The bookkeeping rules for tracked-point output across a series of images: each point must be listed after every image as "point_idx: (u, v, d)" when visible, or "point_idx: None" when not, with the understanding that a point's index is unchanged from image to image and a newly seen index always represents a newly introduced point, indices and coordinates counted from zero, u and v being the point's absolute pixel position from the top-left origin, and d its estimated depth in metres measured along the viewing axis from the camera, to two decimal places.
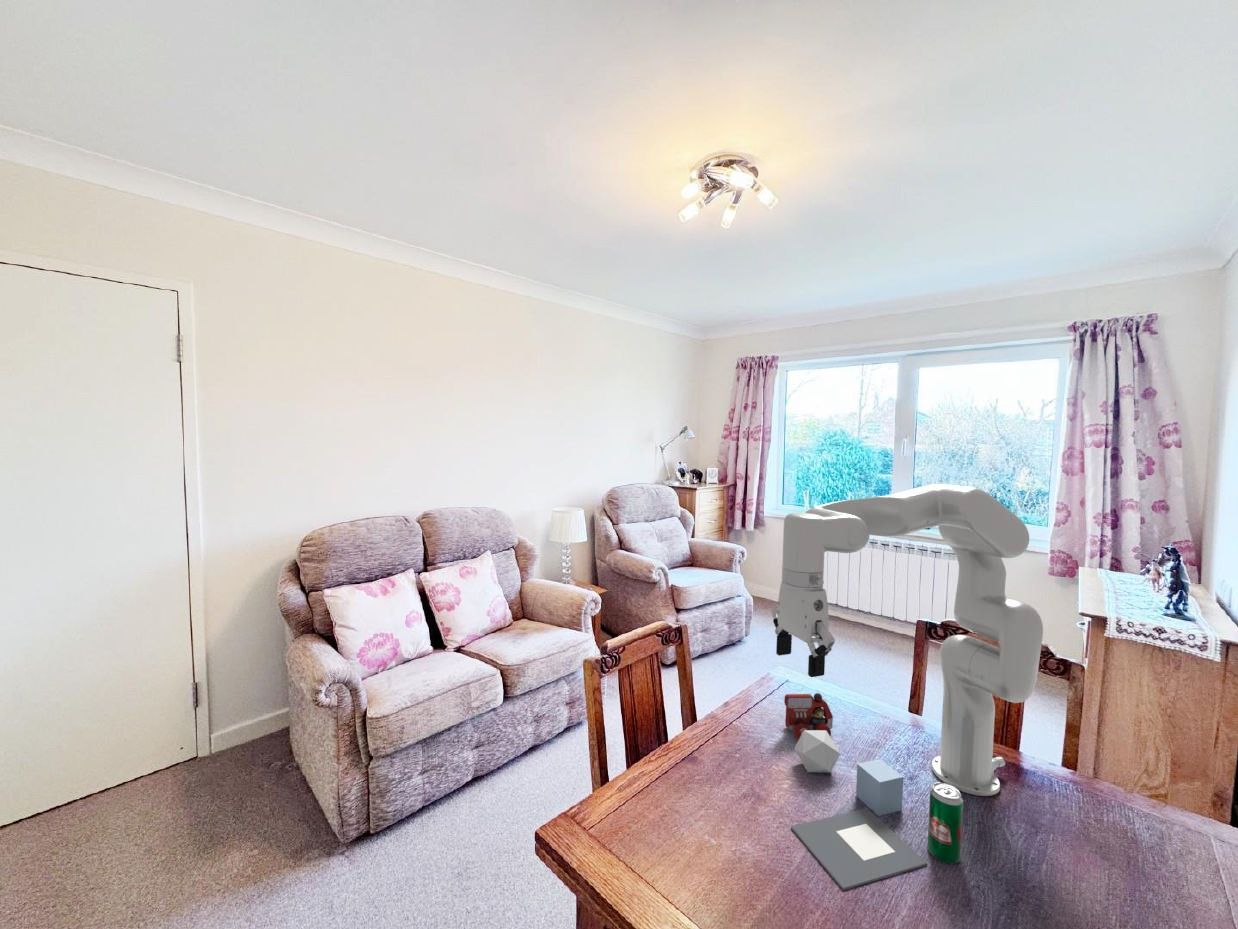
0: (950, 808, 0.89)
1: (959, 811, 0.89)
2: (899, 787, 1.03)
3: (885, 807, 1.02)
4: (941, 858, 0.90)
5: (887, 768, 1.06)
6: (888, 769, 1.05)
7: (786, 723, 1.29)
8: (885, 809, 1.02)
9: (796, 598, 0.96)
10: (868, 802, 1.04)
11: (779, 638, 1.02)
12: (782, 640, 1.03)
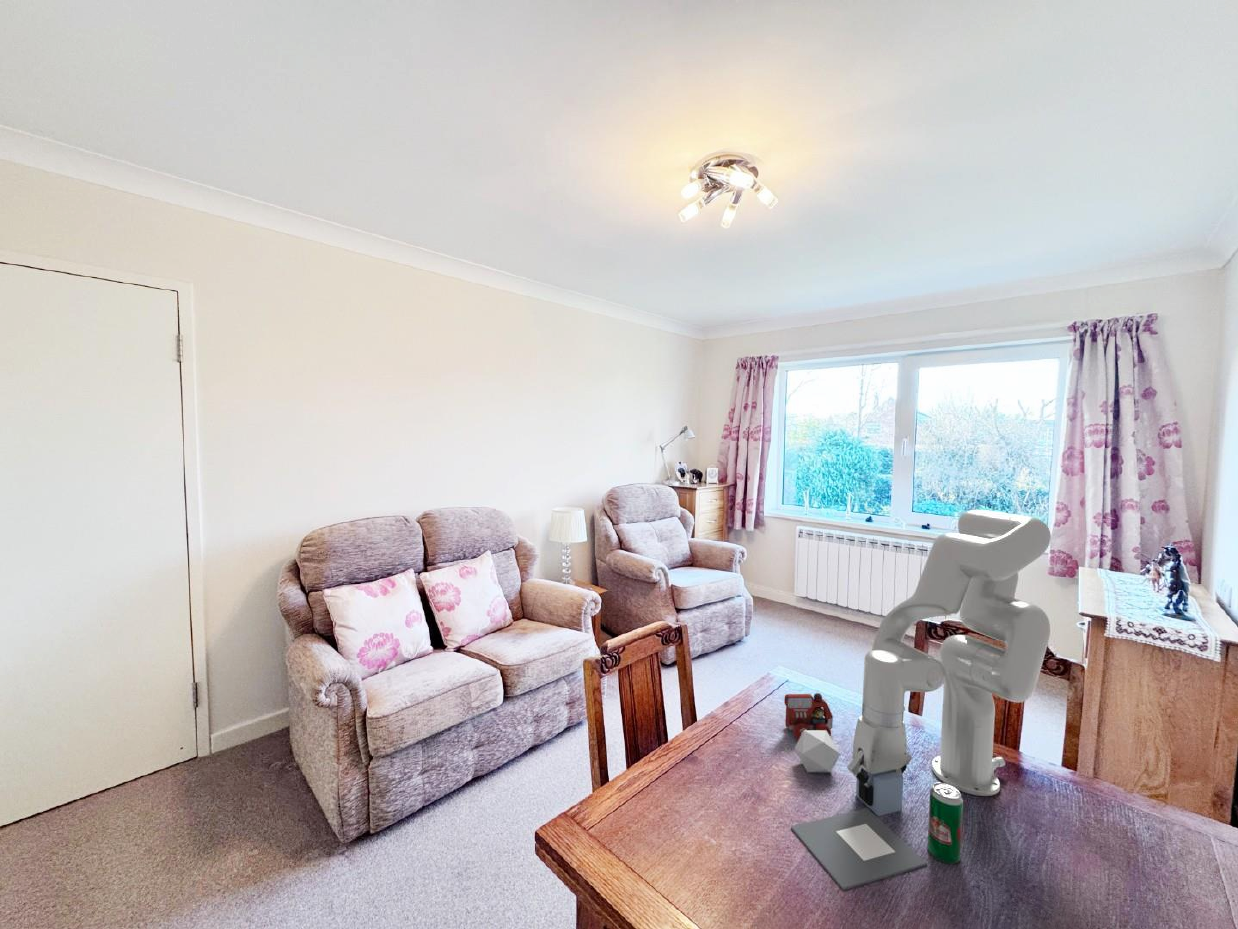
0: (950, 808, 0.89)
1: (959, 811, 0.89)
2: (899, 787, 1.03)
3: (885, 807, 1.02)
4: (941, 858, 0.90)
5: None
6: None
7: (786, 723, 1.29)
8: (885, 809, 1.02)
9: (897, 734, 1.03)
10: None
11: None
12: None
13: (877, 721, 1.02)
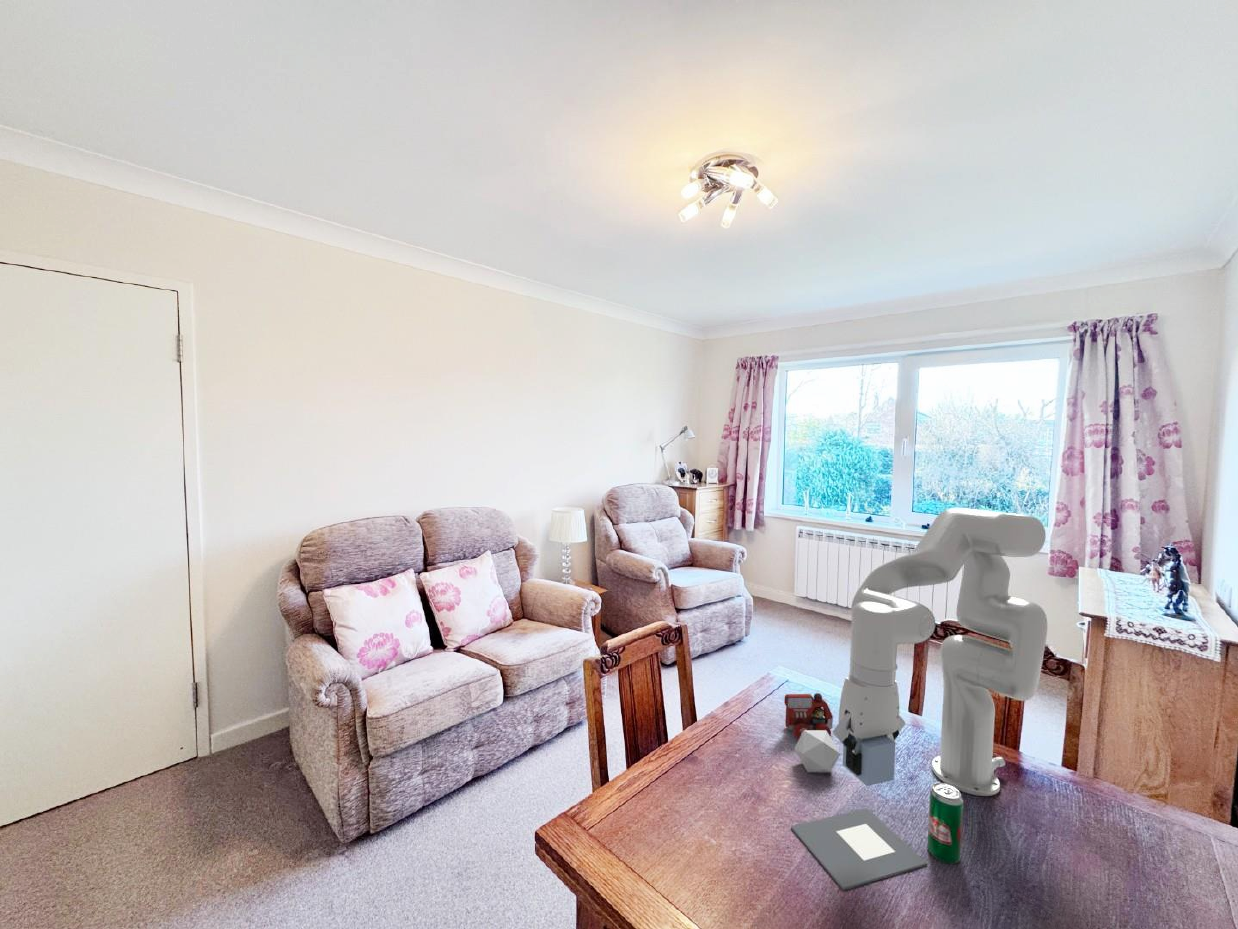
0: (950, 808, 0.89)
1: (959, 811, 0.89)
2: (890, 754, 0.91)
3: (875, 776, 0.90)
4: (941, 858, 0.90)
5: None
6: None
7: (786, 723, 1.29)
8: (874, 778, 0.90)
9: (889, 695, 0.91)
10: None
11: None
12: None
13: (866, 679, 0.90)
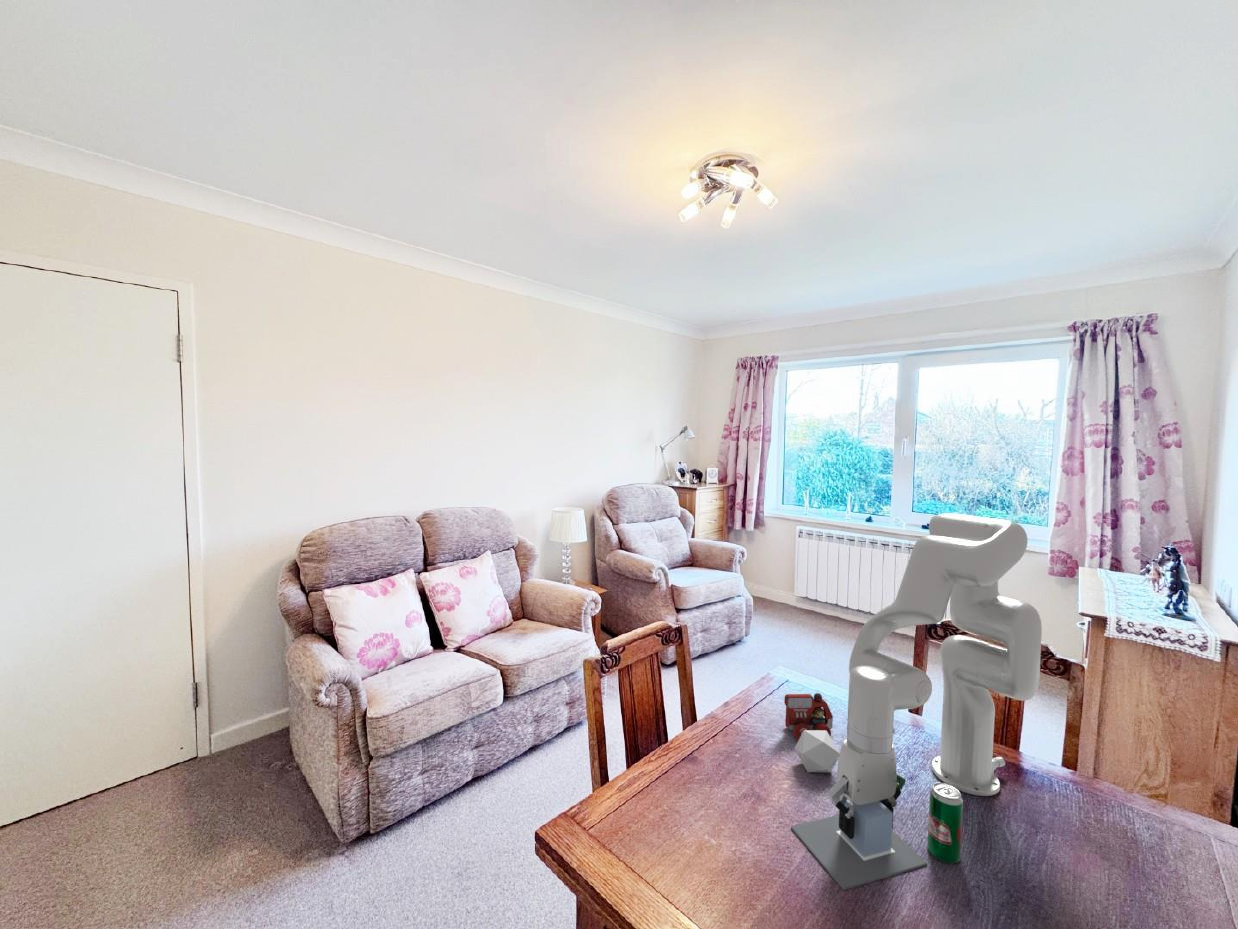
0: (950, 808, 0.89)
1: (959, 811, 0.89)
2: (888, 824, 0.92)
3: (872, 846, 0.91)
4: (941, 858, 0.90)
5: (875, 802, 0.95)
6: (876, 803, 0.94)
7: (786, 723, 1.29)
8: (871, 849, 0.91)
9: (886, 761, 0.92)
10: (853, 840, 0.93)
11: None
12: None
13: (863, 746, 0.91)
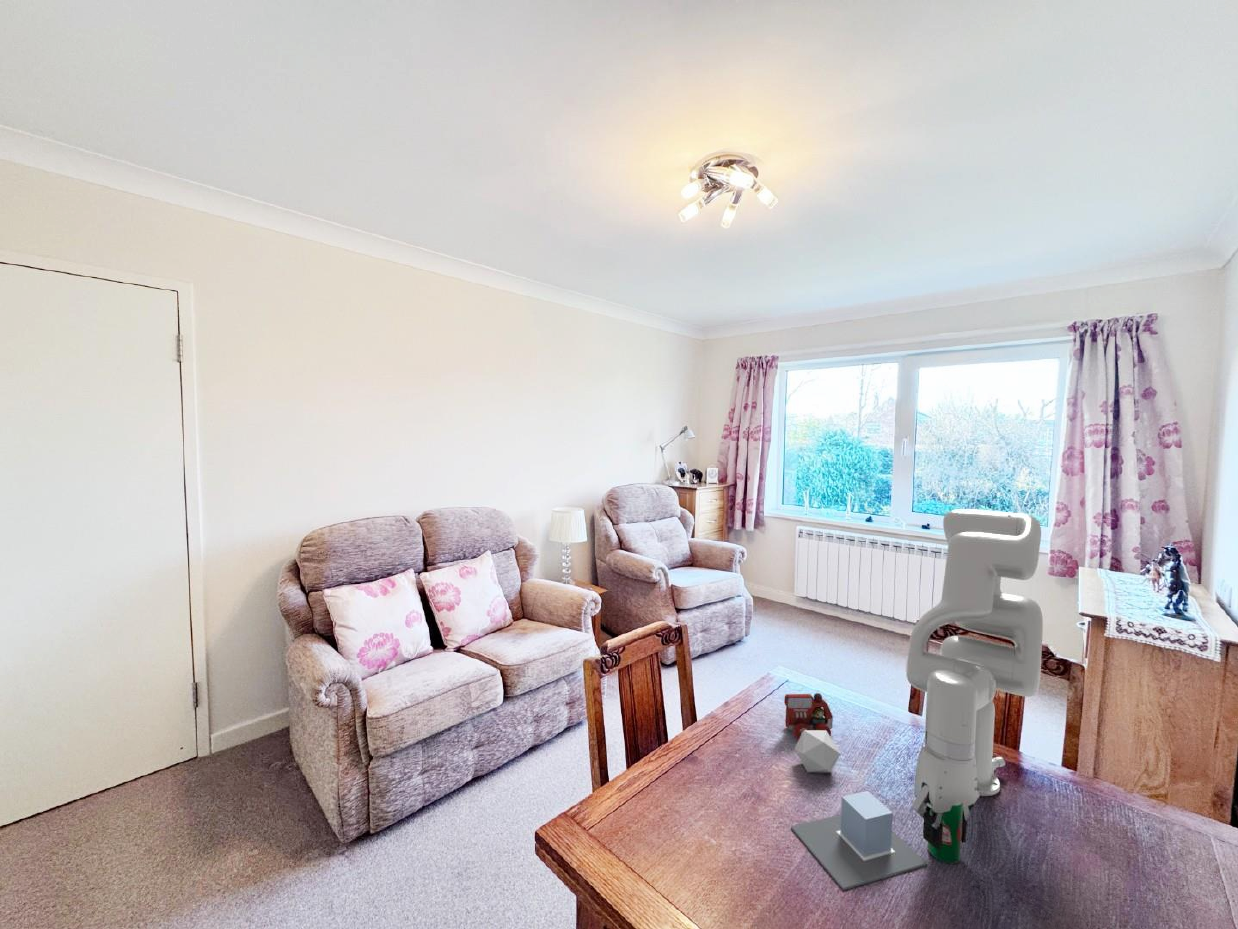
0: None
1: (959, 811, 0.89)
2: (888, 824, 0.92)
3: (872, 846, 0.91)
4: (941, 858, 0.90)
5: (875, 802, 0.95)
6: (876, 803, 0.94)
7: (786, 723, 1.29)
8: (871, 849, 0.91)
9: (967, 767, 0.89)
10: (853, 840, 0.93)
11: None
12: None
13: (945, 752, 0.88)
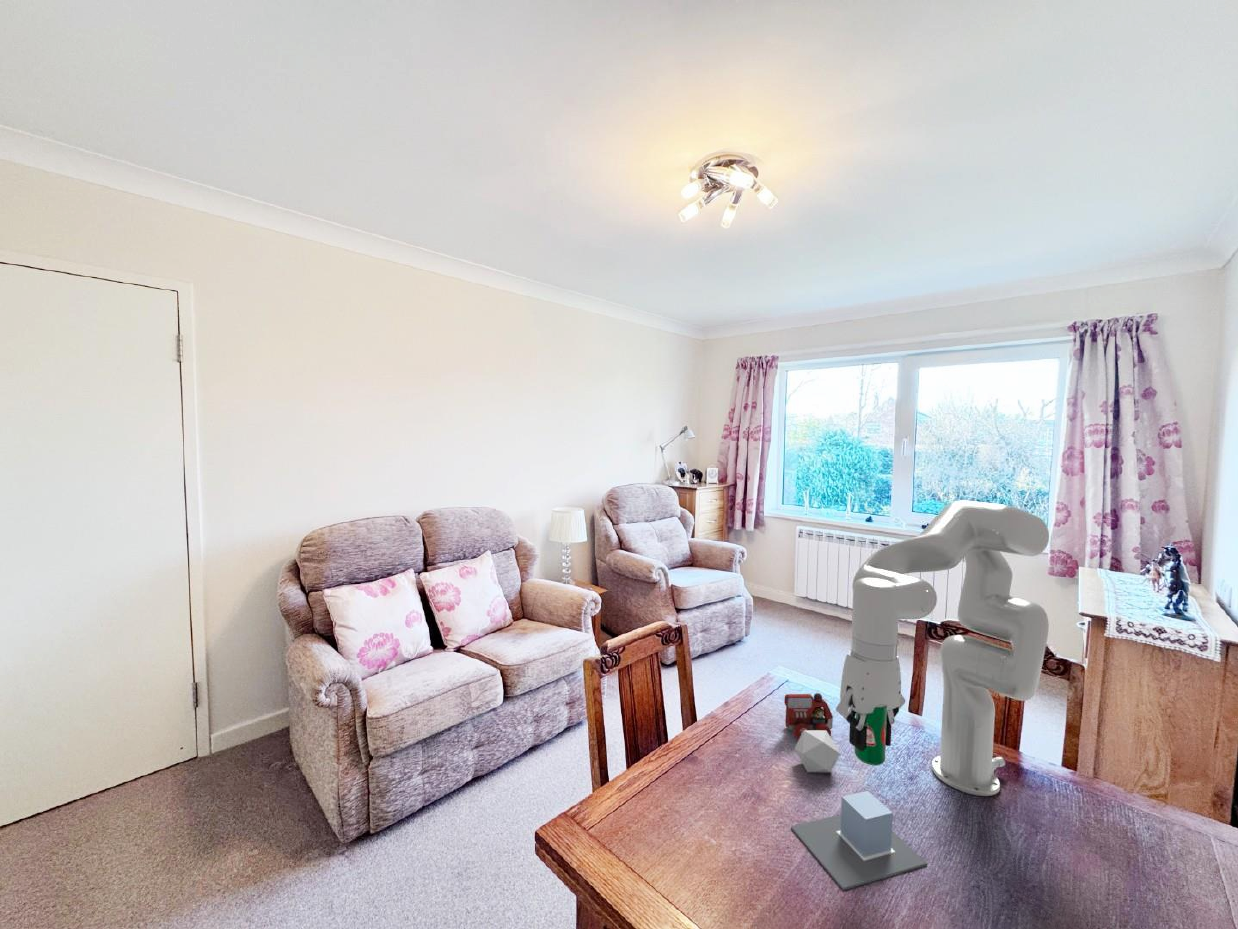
0: (874, 710, 0.91)
1: (883, 712, 0.91)
2: (888, 824, 0.92)
3: (872, 846, 0.91)
4: (865, 760, 0.92)
5: (875, 802, 0.95)
6: (876, 803, 0.94)
7: (786, 723, 1.29)
8: (871, 849, 0.91)
9: (890, 670, 0.91)
10: (853, 840, 0.93)
11: None
12: None
13: (867, 654, 0.90)
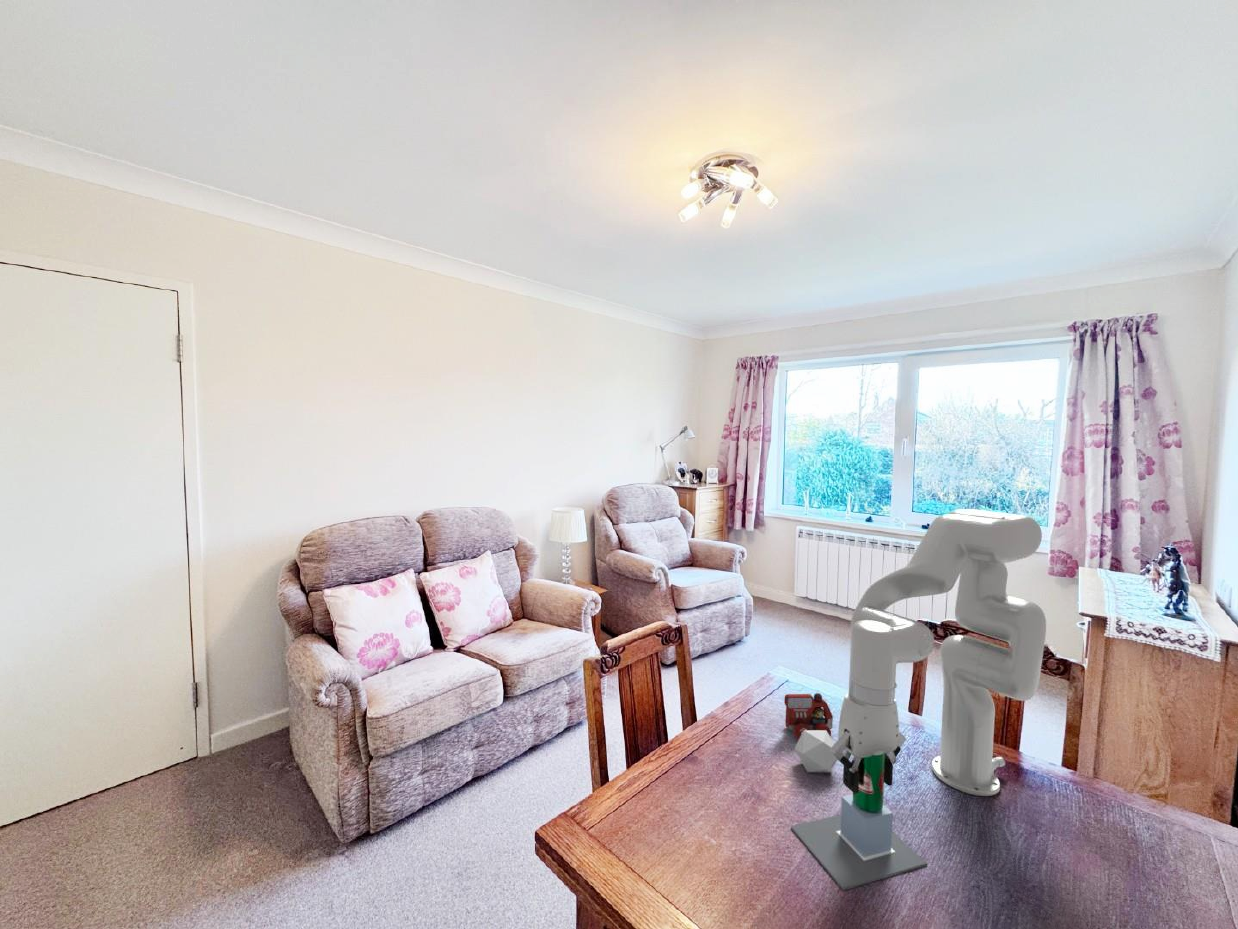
0: (872, 758, 0.91)
1: (881, 760, 0.91)
2: (888, 824, 0.92)
3: (872, 847, 0.91)
4: (863, 807, 0.92)
5: None
6: None
7: (786, 723, 1.29)
8: (871, 849, 0.91)
9: (888, 714, 0.91)
10: (853, 840, 0.93)
11: None
12: None
13: (865, 698, 0.90)
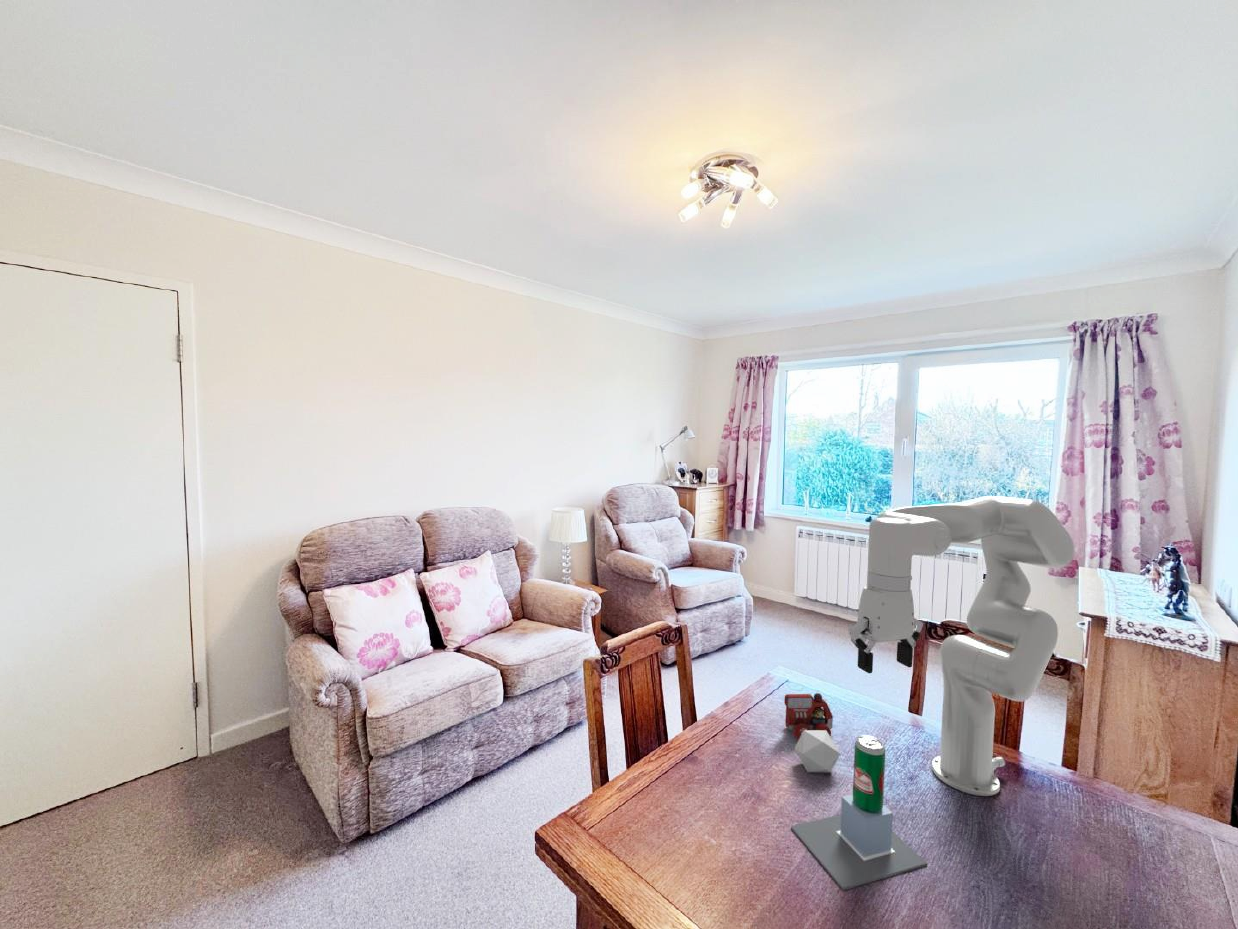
0: (872, 758, 0.91)
1: (881, 760, 0.91)
2: (888, 824, 0.92)
3: (872, 847, 0.91)
4: (863, 807, 0.92)
5: None
6: None
7: (786, 723, 1.29)
8: (871, 849, 0.91)
9: (904, 601, 0.98)
10: (853, 840, 0.93)
11: None
12: None
13: (883, 586, 0.96)
